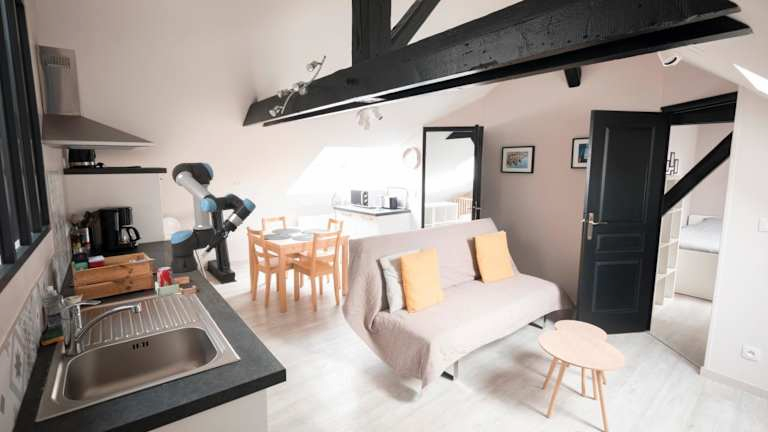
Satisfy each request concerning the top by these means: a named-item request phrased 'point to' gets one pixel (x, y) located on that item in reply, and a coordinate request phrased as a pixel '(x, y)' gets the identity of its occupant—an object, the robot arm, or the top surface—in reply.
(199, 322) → the top surface
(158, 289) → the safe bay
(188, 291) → the trap near
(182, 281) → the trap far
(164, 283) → the soda can
